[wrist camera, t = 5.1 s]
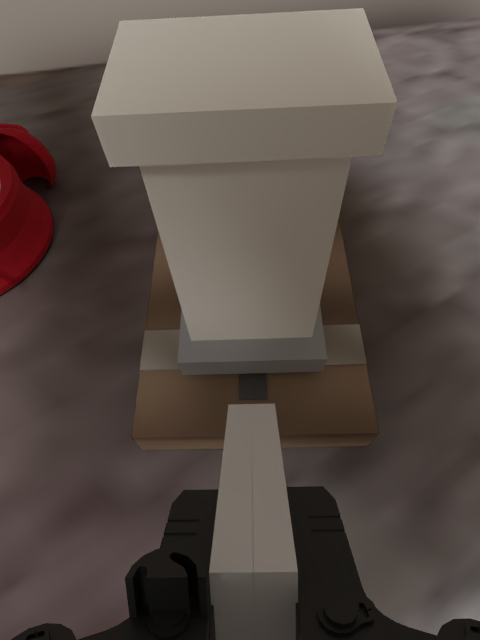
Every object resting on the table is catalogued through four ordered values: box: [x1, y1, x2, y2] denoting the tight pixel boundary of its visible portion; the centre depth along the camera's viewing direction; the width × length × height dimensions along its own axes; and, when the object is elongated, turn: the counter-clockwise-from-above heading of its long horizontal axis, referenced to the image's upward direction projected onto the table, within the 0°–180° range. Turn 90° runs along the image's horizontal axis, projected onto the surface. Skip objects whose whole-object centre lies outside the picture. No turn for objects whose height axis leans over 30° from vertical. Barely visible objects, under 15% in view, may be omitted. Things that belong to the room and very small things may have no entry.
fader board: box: [131, 218, 379, 450], centre depth 24 cm, size 24×10×2 cm, turn 1°
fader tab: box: [91, 8, 397, 375], centre depth 14 cm, size 5×6×11 cm
